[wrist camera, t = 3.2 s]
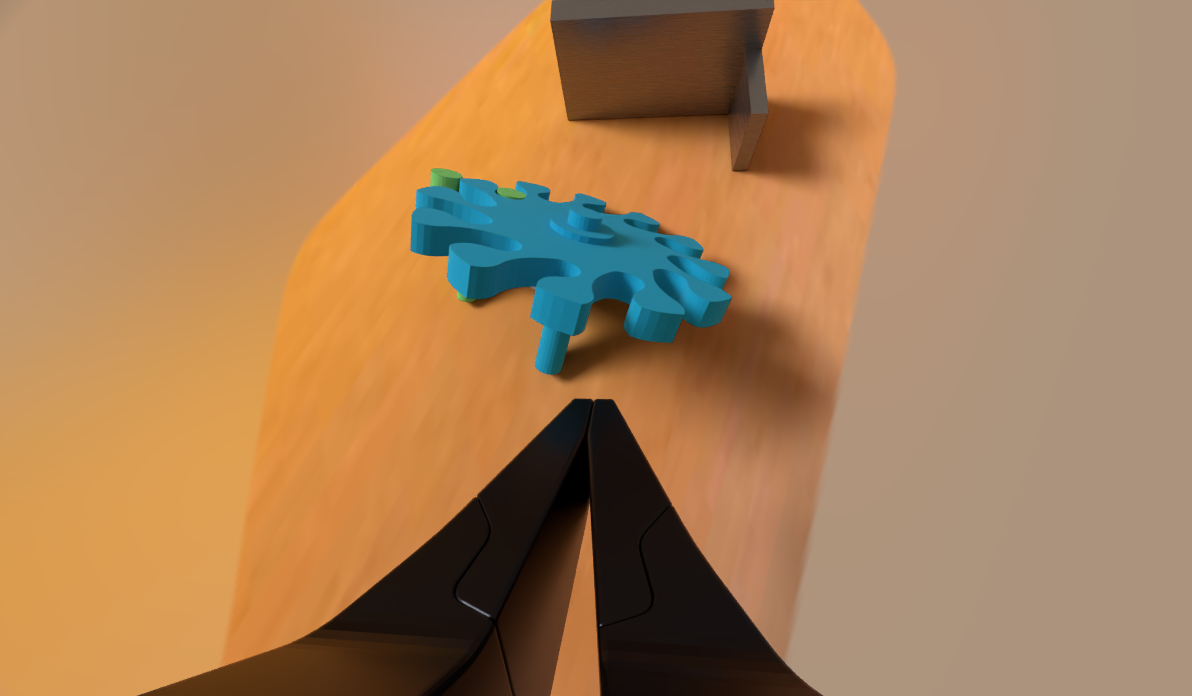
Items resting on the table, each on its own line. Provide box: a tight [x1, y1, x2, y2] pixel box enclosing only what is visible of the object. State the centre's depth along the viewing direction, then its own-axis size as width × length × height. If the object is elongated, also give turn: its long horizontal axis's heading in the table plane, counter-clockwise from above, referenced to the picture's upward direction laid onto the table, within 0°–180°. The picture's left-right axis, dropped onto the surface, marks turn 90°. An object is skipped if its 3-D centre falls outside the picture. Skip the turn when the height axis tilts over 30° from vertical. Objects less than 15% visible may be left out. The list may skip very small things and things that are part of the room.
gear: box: [411, 168, 732, 375], centre depth 15 cm, size 11×6×10 cm
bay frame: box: [550, 0, 774, 171], centre depth 17 cm, size 4×8×4 cm, turn 88°
